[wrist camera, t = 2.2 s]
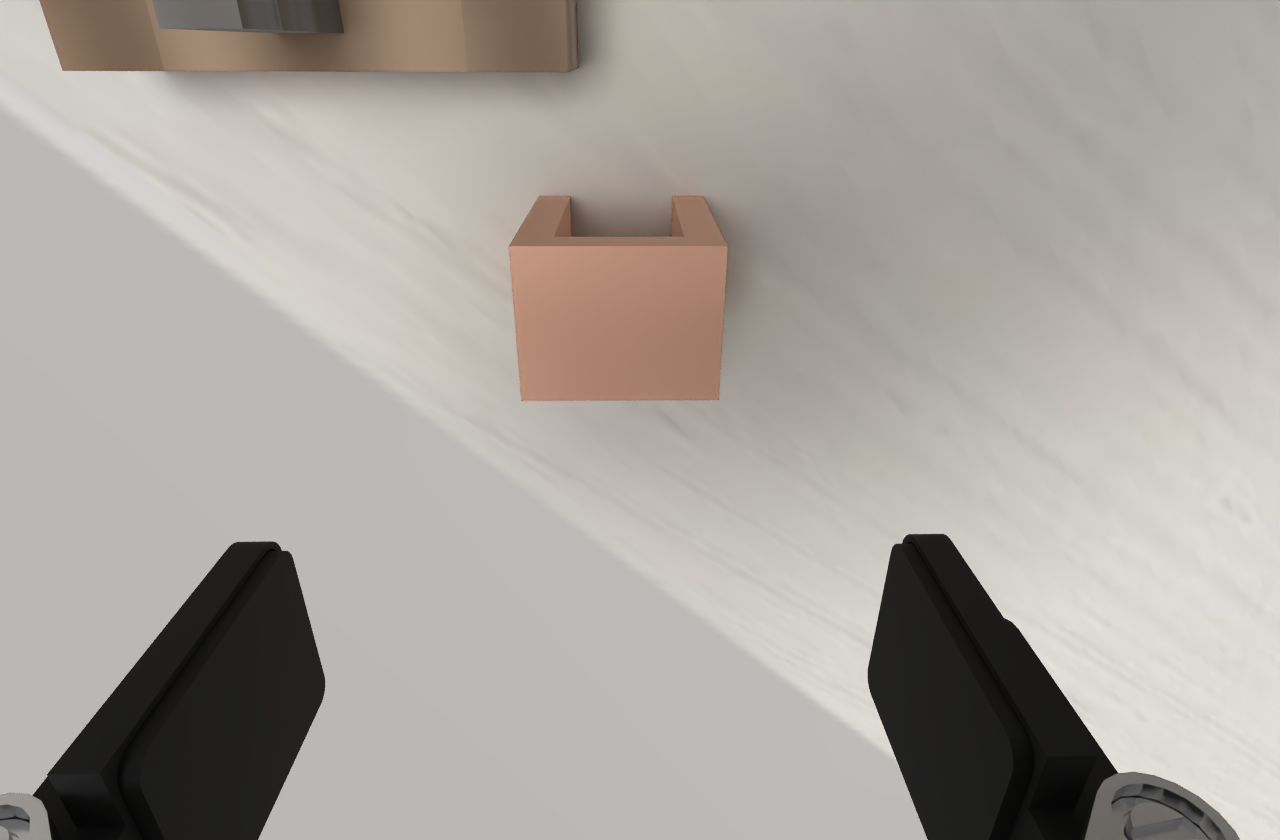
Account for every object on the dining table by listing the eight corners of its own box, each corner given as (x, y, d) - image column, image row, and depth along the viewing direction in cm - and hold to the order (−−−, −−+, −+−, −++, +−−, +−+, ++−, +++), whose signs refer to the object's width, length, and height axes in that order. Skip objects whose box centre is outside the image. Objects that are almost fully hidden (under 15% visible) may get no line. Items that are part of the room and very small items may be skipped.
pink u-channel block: (702, 196, 28) (728, 245, 21) (697, 317, 30) (718, 399, 23) (539, 196, 28) (508, 246, 21) (546, 318, 30) (521, 400, 23)
